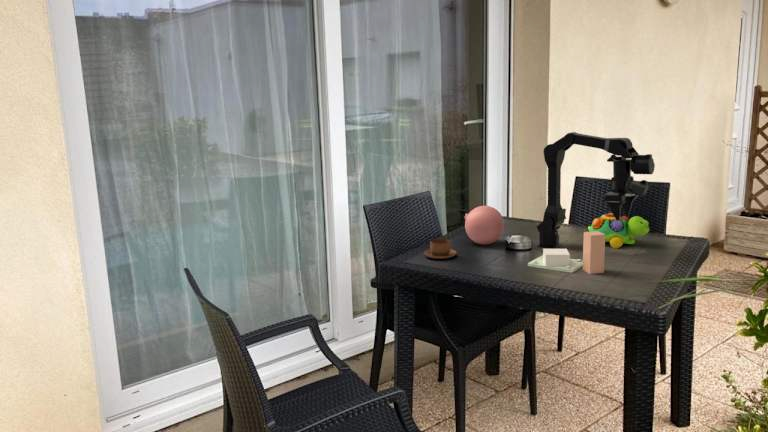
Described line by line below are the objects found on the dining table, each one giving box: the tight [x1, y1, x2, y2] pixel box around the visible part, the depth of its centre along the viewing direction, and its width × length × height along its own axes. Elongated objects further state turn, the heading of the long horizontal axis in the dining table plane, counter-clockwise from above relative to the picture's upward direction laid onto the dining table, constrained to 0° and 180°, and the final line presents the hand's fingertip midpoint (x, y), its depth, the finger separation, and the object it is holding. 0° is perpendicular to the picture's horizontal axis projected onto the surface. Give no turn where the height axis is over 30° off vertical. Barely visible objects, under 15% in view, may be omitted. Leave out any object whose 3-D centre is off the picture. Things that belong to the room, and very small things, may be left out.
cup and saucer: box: [424, 238, 457, 260], centre depth 236 cm, size 12×12×6 cm
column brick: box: [582, 231, 606, 275], centre depth 210 cm, size 5×5×13 cm
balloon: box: [463, 205, 505, 246], centre depth 253 cm, size 15×20×15 cm
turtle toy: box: [587, 212, 650, 249], centre depth 245 cm, size 17×23×12 cm
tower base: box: [527, 248, 583, 274], centre depth 220 cm, size 16×13×5 cm
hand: (622, 217), depth 225 cm, fingers open, 9 cm apart
